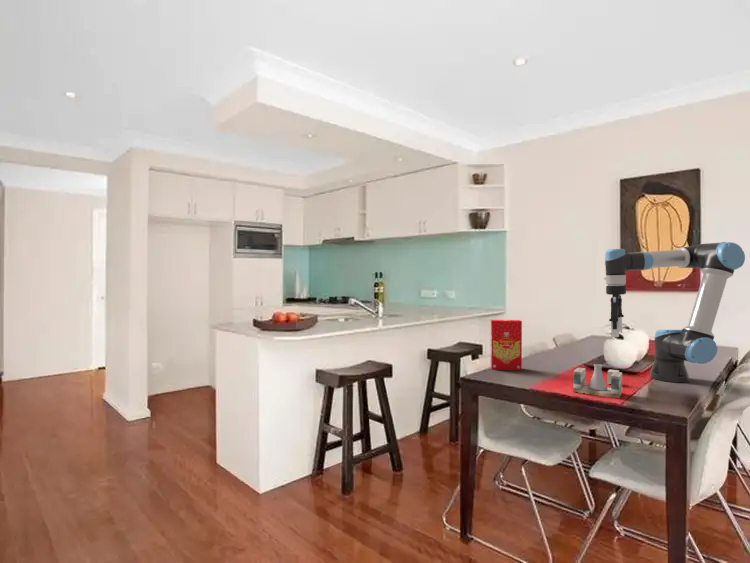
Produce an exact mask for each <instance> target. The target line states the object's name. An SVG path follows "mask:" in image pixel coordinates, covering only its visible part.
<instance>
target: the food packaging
mask: <svg viewBox="0 0 750 563" xmlns="http://www.w3.org/2000/svg"><path fill="white" fill-rule="evenodd" d="M522 328H523V322H522V320H521V319H490V369H491V370H496V371H498V370H500V371H508V370H509V371H522V370H523V369H522V368H523V367H522V362H523V361H522V353H523V352H522V350H523V348H522V347H523V345H522V344H523V342H522V340H523V329H522Z"/></svg>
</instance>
